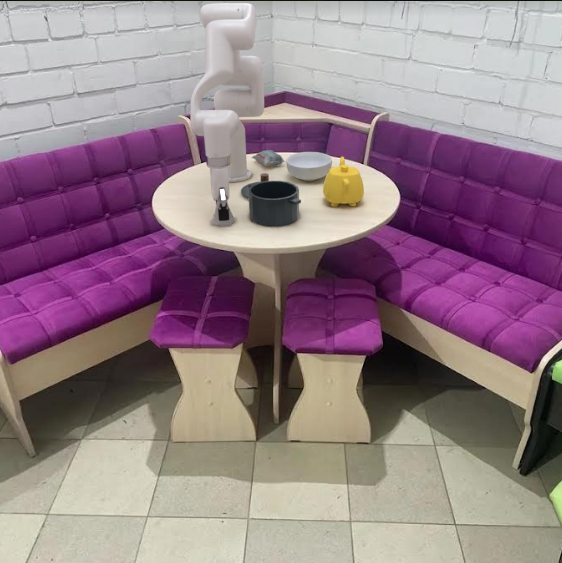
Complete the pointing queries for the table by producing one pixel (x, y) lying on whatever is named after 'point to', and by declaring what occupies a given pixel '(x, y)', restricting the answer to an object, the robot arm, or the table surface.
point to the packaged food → (268, 158)
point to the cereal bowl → (309, 165)
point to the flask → (216, 217)
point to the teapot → (343, 185)
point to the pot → (273, 203)
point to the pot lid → (263, 178)
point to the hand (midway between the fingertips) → (222, 214)
